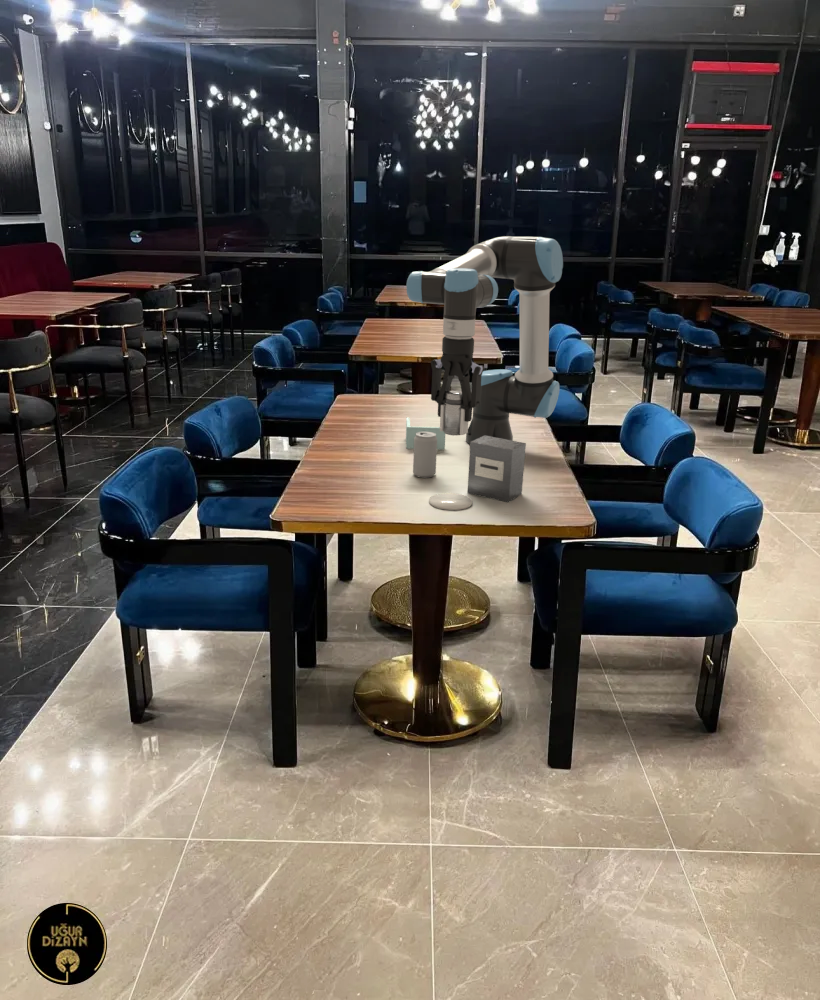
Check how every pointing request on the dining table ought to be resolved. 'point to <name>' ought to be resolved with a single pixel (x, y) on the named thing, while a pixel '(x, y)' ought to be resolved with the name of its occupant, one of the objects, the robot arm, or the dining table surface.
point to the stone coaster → (450, 501)
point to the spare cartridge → (453, 412)
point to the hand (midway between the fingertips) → (453, 431)
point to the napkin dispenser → (496, 468)
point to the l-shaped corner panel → (413, 430)
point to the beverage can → (425, 454)
